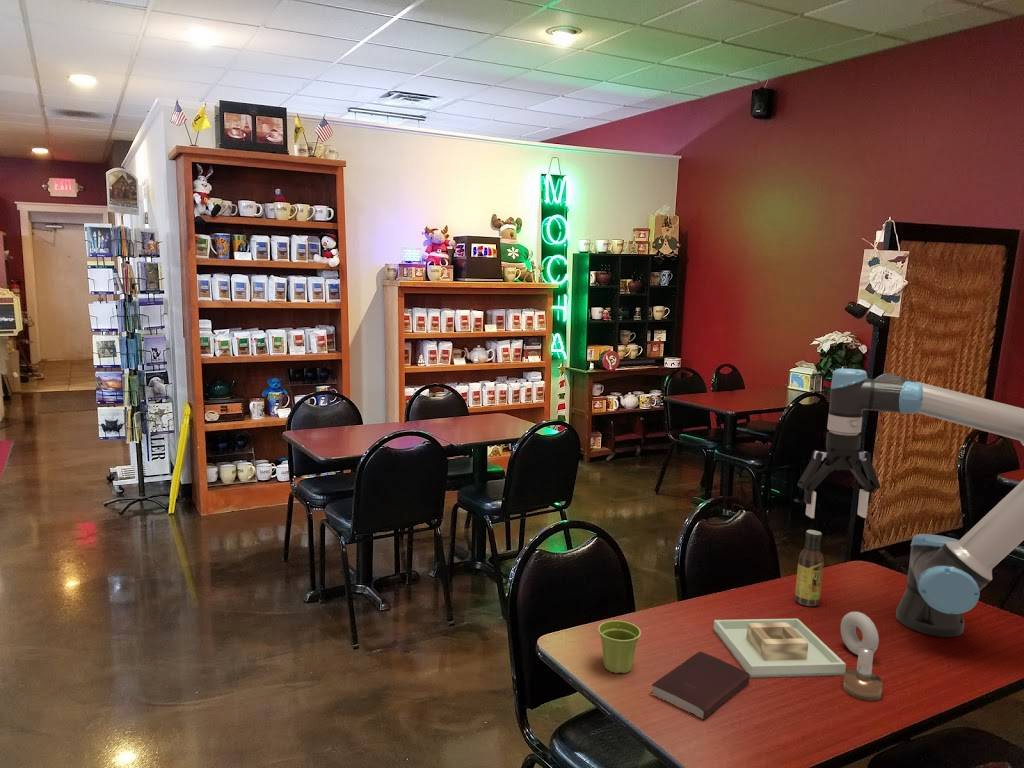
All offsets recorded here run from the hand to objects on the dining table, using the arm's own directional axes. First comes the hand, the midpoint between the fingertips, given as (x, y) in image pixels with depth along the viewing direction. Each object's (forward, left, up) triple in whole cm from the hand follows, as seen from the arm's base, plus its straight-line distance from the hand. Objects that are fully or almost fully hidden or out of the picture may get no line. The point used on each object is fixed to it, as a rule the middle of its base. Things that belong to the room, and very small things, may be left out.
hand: (835, 516), depth 176 cm
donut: (0, +14, -29) cm, 32 cm away
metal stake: (+8, +29, -29) cm, 42 cm away
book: (+43, +26, -29) cm, 58 cm away
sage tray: (+19, +12, -29) cm, 36 cm away
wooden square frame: (+19, +12, -28) cm, 36 cm away
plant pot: (+58, +17, -29) cm, 67 cm away
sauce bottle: (-2, -13, -29) cm, 32 cm away
